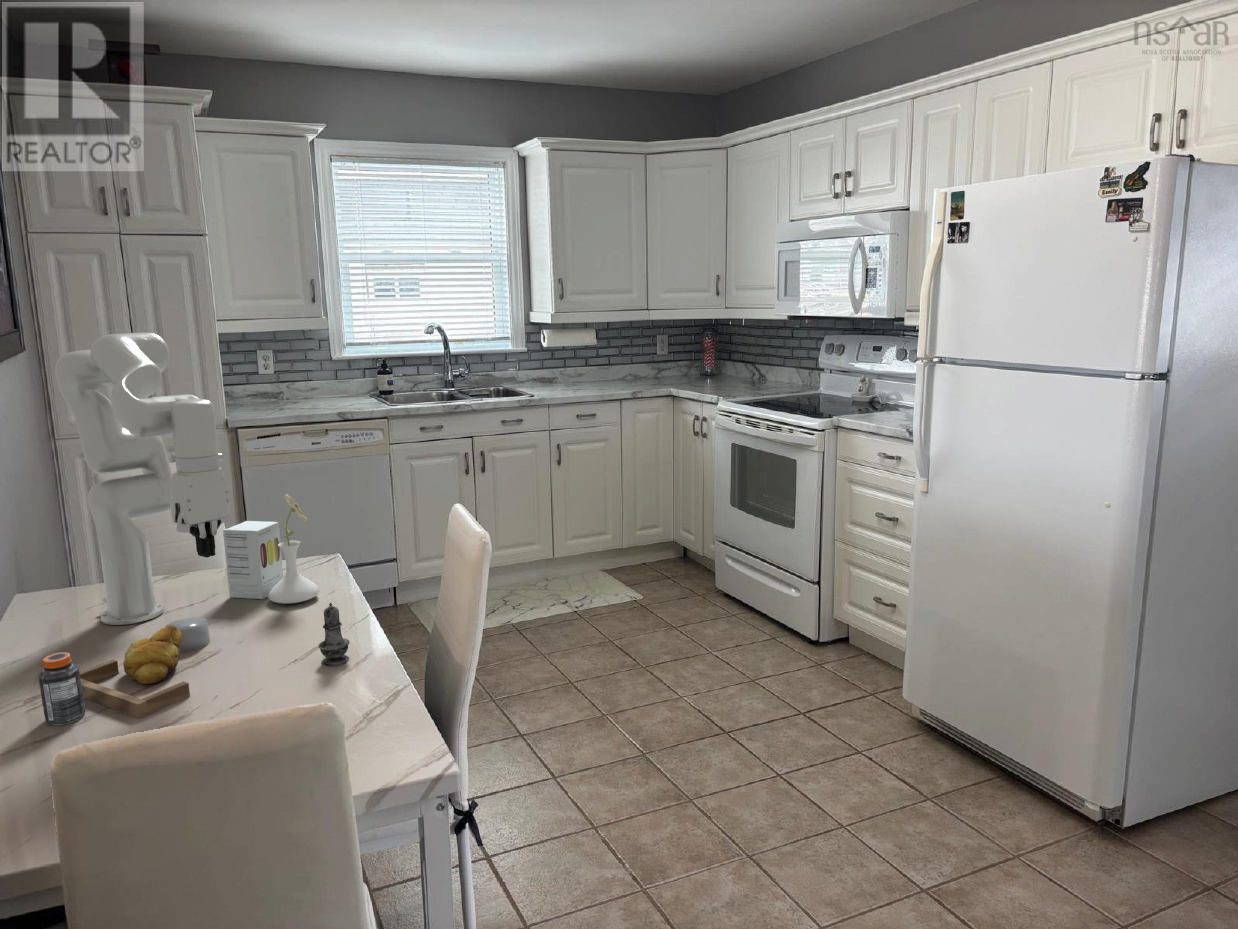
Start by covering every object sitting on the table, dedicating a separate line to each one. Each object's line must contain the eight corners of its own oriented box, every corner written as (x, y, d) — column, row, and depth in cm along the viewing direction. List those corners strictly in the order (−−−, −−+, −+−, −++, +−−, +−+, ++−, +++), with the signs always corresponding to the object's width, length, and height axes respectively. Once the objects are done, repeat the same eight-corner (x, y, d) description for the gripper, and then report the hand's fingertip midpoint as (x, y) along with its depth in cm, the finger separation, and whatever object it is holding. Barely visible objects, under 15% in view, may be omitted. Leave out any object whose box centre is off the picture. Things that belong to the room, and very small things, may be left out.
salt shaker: (357, 656, 177) (352, 599, 174) (338, 668, 171) (333, 609, 169) (332, 653, 179) (327, 596, 176) (313, 665, 173) (307, 606, 171)
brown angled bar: (63, 691, 164) (61, 678, 163) (114, 671, 172) (112, 659, 171) (139, 718, 152) (138, 704, 152) (190, 696, 161) (188, 683, 160)
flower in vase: (316, 605, 207) (307, 500, 202) (264, 610, 204) (254, 503, 200) (323, 588, 219) (314, 488, 214) (274, 592, 217) (264, 491, 212)
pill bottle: (57, 711, 156) (47, 650, 153) (92, 709, 156) (83, 648, 154) (38, 727, 150) (28, 664, 148) (74, 725, 150) (65, 662, 148)
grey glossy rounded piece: (158, 648, 183) (156, 627, 182) (194, 635, 190) (191, 615, 189) (183, 655, 179) (180, 634, 179) (218, 642, 186) (216, 621, 185)
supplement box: (263, 600, 211) (256, 531, 208) (228, 598, 213) (221, 529, 210) (285, 587, 220) (279, 521, 217) (252, 585, 222) (245, 519, 219)
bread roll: (170, 686, 165) (165, 645, 164) (113, 692, 163) (107, 651, 161) (187, 659, 177) (182, 621, 176) (134, 664, 175) (129, 626, 174)
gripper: (219, 455, 179) (227, 543, 183) (149, 469, 167) (159, 563, 170) (244, 459, 176) (251, 548, 179) (174, 473, 163) (184, 569, 167)
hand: (206, 555), depth 175 cm, fingers closed
